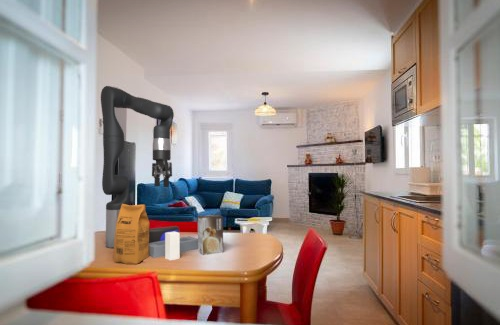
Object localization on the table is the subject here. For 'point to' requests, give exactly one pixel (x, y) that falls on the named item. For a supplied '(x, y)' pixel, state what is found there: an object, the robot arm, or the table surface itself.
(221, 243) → the coffee box
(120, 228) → the coffee package
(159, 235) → the dark computer mouse
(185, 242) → the block
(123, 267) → the table surface
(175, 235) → the plug
